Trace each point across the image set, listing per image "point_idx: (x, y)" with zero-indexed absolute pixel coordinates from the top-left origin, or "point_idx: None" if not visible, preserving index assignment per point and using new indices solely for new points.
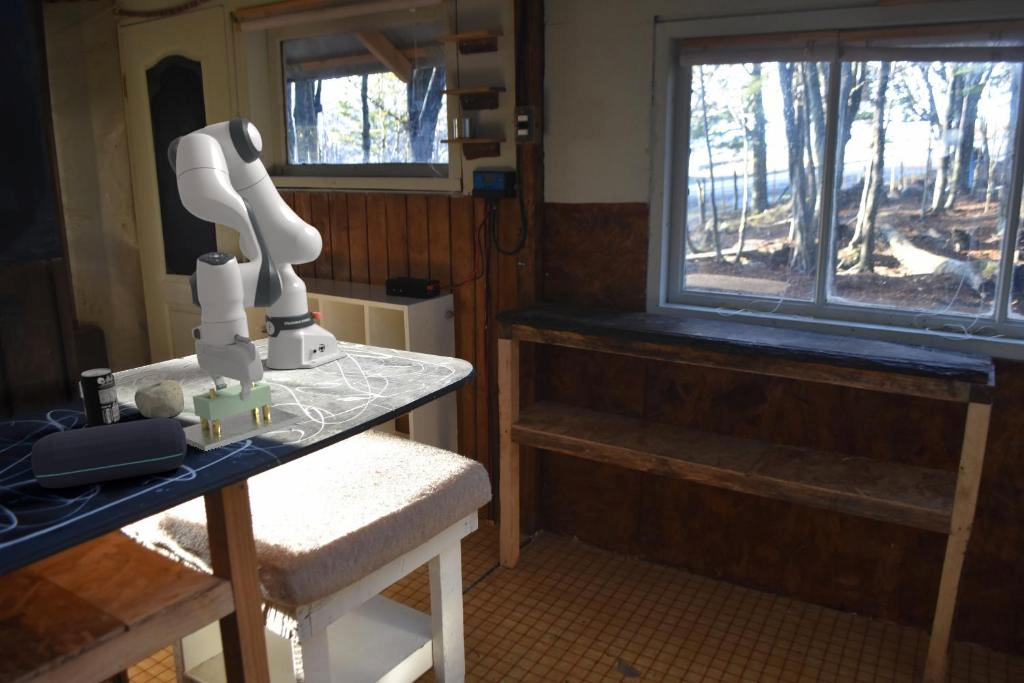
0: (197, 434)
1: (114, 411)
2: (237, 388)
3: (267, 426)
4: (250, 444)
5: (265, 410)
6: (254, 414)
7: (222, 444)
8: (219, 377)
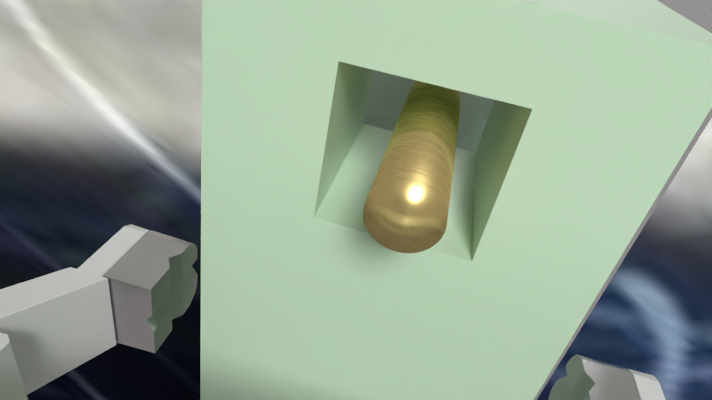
0: None
1: None
2: (332, 293)
3: (685, 156)
4: (683, 322)
5: None
6: None
7: None
8: (20, 345)
